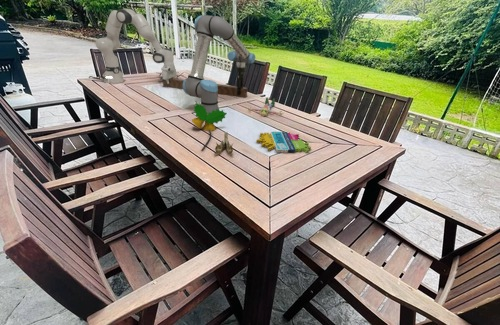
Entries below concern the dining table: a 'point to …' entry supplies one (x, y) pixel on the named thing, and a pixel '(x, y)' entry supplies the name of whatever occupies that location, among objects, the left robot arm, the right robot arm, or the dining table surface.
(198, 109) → the ornament
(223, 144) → the jawbone
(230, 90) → the bar
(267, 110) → the toy
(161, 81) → the airplane
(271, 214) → the dining table surface
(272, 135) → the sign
